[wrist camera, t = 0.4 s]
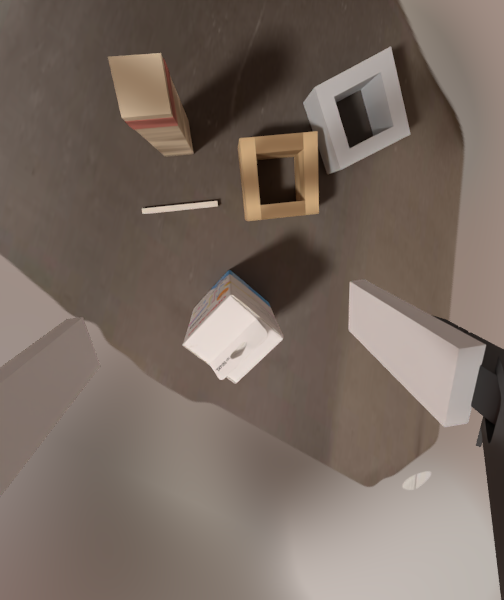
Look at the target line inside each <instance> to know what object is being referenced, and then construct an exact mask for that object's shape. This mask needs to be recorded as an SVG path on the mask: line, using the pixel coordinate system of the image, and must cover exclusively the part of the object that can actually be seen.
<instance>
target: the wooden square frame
mask: <svg viewBox="0 0 504 600" xmlns="http://www.w3.org/2000/svg"><path fill="white" fill-rule="evenodd" d="M238 154H239V163H240V173H241V183H242V192H243V202H244V212H245V220H247V221H254V220H263V219H272V218H281V217H291V216H300V215H309V214H318V213H319V188H318V131H314V132H303V133H292V134H281V135H270V136H259V137H248V138H240V139H239V144H238ZM285 157H294V166H295V190H296V201H295V202H286V203H276V204H267V205H260V195H259V184H258V172H257V160H264V159H275V158H285Z"/></svg>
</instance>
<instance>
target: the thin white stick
mask: <svg viewBox="0 0 504 600" xmlns="http://www.w3.org/2000/svg"><path fill="white" fill-rule="evenodd" d="M216 206H218V201H210V202H200V203H190V204H181V205H171V206H161V207H152V208H142V213H143V214H149V213H159V212H168V211H178V210H187V209H197V208H206V207H216Z"/></svg>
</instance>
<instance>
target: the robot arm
mask: <svg viewBox="0 0 504 600" xmlns="http://www.w3.org/2000/svg"><path fill="white" fill-rule="evenodd" d="M349 331H350V332H351V333H352V334H353V335H354V336H355V337H356V338H357V339H358V340H359V341H360V342H361V343H362V344H363V345H364V346H365V347H366V348H367V349H368V350H369V351H370V352H371V353H372V354H373V355H374V356H375V357H376V358H377V359H378V360H379V361H380V362H381V364H382V365H383V366H384V367H385V368H386V369H387V370H388V371H389V372H390V373H391V374H392V375H393V376H394V377H395V378H396V379H397V380H398V381H399V382H400V383H401V384H402V385H403V386H404V387H405V388H406V389H407V390H408V391H409V392H410V393H411V394H412V395H413V396H414V397H415V398H416V399H417V400H418V401H419V402H420V403H421V404H422V405H423V406H424V407H425V408H426V409H427V410H428V411H429V412H430V413H431V414H432V415H433V416H434V417H435V418H436V419H437V420H438V421H439V422H440V423H441V424H442V425H443V426H444V427H448V426H454V425H460V424H466V423H468V421H469V417H470V412H471V408H472V407H473V408H474V409H475V410H477V411H478V412H479V413H480V414H481V415H483V420H482V423H481V428H480V431H479V435H478V439H477V444H476V446H479V447H481V445H482V442H483V449H484V457H485V466H486V474H487V483H488V490H489V499H490V508H491V515H492V524H493V533H494V541H495V550H496V558H497V567H498V575H499V583H500V592H501V600H504V349H502V348H500V347H497V346H495V345H494V344H492V343H490V342H488V341H486V340H484V339H482V338H480V337H479V336H477V335H475V334H473V333H469V332H468V331H467V330H465V329H463V328H461V327H458V326H457V325H455V324H453V323H452V322H450V321H448V320H446V319H442V318H439V317H436V316H432V315H430V314H428V313H426V312H424V311H422V310H421V309H419V308H417V307H415V306H413V305H411V304H409V303H407V302H406V301H404V300H402V299H400V298H398V297H396V296H394V295H393V294H391V293H389V292H387V291H385V290H383V289H381V288H380V287H378V286H376V285H374V284H372V283H370V282H368V281H367V280H365V279H363V280H356V281H350V290H349ZM99 367H100V363H99V360H98V358H97V355H96V352H95V349H94V347H93V344H92V341H91V338H90V335H89V333H88V330H87V327H86V325H85V322H84V319H83V317H81V318H73V319H66V320H65V321H64V322H63V323H61V324H59V325H58V326H57V327H55V328H54V329H53V330H51V331H50V332H49V333H47V334H46V335H44V336H43V337H42V338H40V339H39V340H37V341H36V342H35V343H33V344H32V345H31V346H29V347H28V348H27V349H25V350H24V351H22V352H21V353H20V354H18V355H17V356H15V357H14V358H13V359H11V360H10V361H9V362H7V363H6V364H5V365H3V366H2V367H0V497H1V495H2V494H3V493H4V491H5V490H6V489H7V487H8V486H9V485H10V483H11V482H12V481H13V480H14V478H15V477H16V476H17V474H18V473H19V472H20V470H21V469H22V468H23V467H24V465H25V464H26V462H27V461H28V460H29V459H30V457H31V456H32V455H33V454H34V452H35V451H36V450H37V448H38V447H39V446H40V444H41V443H42V441H44V439H45V438H46V437H47V435H48V434H49V433H50V431H51V430H52V429H53V428H54V426H55V425H56V424H57V422H58V421H59V419H60V418H61V417H62V416H63V414H64V413H65V412H66V410H67V409H68V408H69V407H70V405H71V404H72V403H73V401H74V400H75V399H76V398H77V396H78V395H79V393H80V392H81V391H82V390H83V388H84V387H85V386H86V384H87V383H88V382H89V381H90V379H91V378H92V377H93V375H94V374H95V372H96V371H97V370H98V369H99Z"/></svg>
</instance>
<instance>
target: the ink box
mask: <svg viewBox="0 0 504 600" xmlns="http://www.w3.org/2000/svg"><path fill="white" fill-rule="evenodd" d="M282 340H283V334H282V332H281V330H280V328H279V325H278V323H277V321H276V318H275V316H274V314H273V311H272V309H271V307H270V304H269V302H268V301H266V300H265V299H264V298H263V297H262V296H261V295H259V294H258V293H257V292H256V291H255V290H253V289H252V288H251V287H250V286H249V285H248V284H246V283H245V282H244V281H243V280H242V279H241V278H239V277H238V276H237V275H236V274H235V273H233V272H232V271H231V270H228V271H227V272H226V274H225V275H224V276H223V277H222V278H221V279H220V280H219V281H218V282H217V283H216V284H215V286H214V287H213V288H212V289H211V290H210V291H209V292H208V293H207V294H206V295H205V297H204V298H203V299H202V300H201V301H200V302H199V303H198V304H197V305H196V307H195V308H194V310H193V313H192V316H191V320H190V323H189V326H188V330H187V333H186V336H185V339H184V343H183V346H184V347H185V348H187V349H188V350H189V351H191V352H192V353H194V354H195V355H196V356H198V357H199V358H200V359H202V360H203V361H205V362H206V363H207V364H209V365H210V366H211V367H212V369H213V370H214V372H215V373H216V375H217V377H218V378H219V379H220V380H223V379H225V378H226V377H227V378H228V379H229V380H231V381H232V382H233V383H237V382H238V381H239V380H240V379H241V378H242V377H244V376H245V375H246V374H247V373H248V372H249V371H250V370H251V369H252V368H253V367H254V366H255V365H256V364H257V363H258V362H259V361H261V360H262V359H263V358H264V357H265V356H266V355H267V354H268V353H269V352H270V351H271V350H272V349H273V348H274V347H275V346H276V345H277V344H278V343H280V342H281V341H282Z"/></svg>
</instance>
